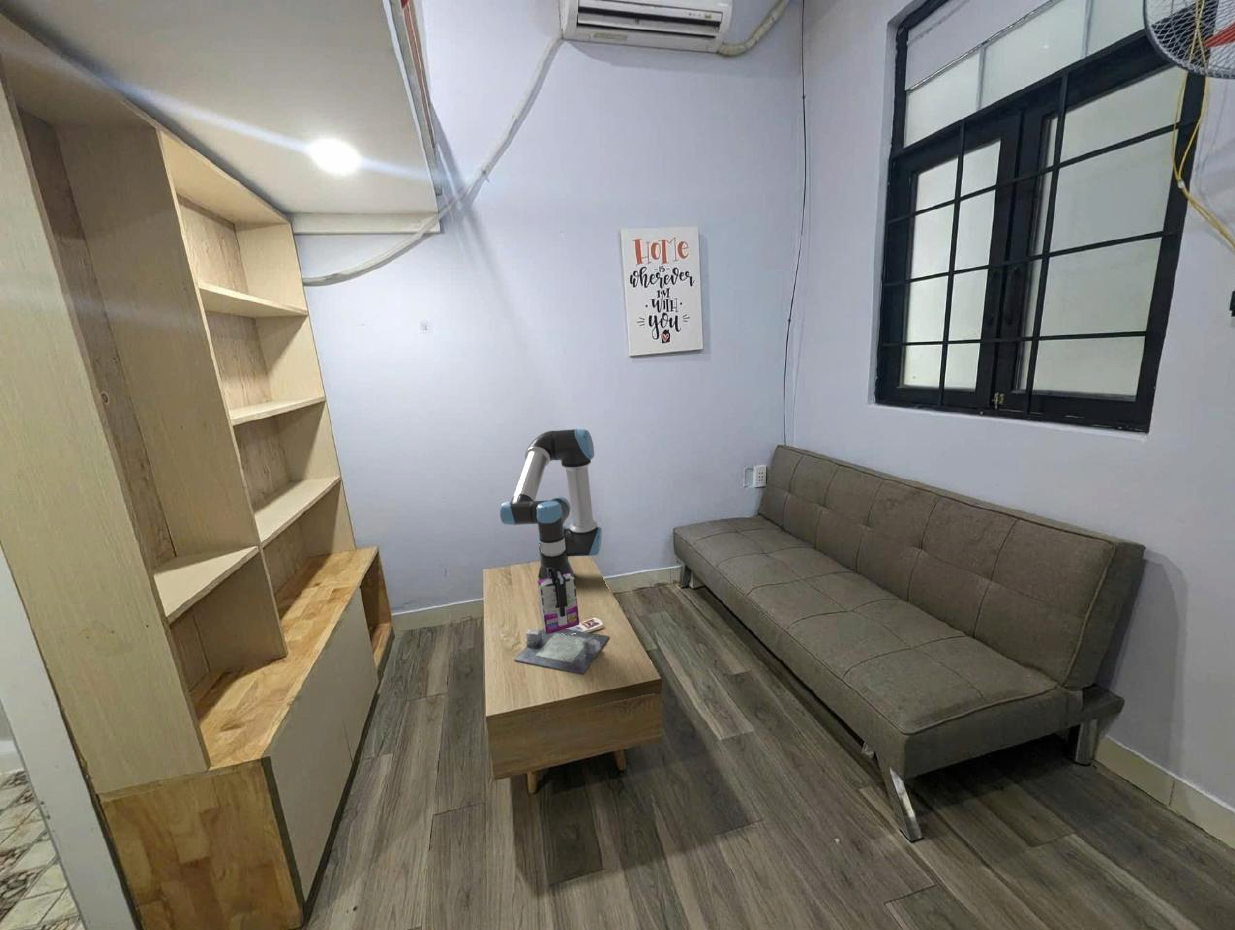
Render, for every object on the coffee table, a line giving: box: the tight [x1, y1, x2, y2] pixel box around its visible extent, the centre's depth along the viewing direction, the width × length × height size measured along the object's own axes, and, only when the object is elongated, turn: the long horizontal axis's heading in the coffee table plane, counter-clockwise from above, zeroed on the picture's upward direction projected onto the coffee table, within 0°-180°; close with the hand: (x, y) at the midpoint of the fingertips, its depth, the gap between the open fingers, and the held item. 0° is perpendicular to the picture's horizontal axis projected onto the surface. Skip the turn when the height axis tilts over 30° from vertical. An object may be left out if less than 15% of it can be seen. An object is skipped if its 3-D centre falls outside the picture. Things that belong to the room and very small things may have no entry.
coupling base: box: [513, 628, 610, 675], centre depth 155 cm, size 26×20×5 cm
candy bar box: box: [536, 573, 580, 634], centre depth 152 cm, size 11×5×16 cm, turn 114°
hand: (560, 620), depth 153 cm, fingers closed on candy bar box, 5 cm apart
